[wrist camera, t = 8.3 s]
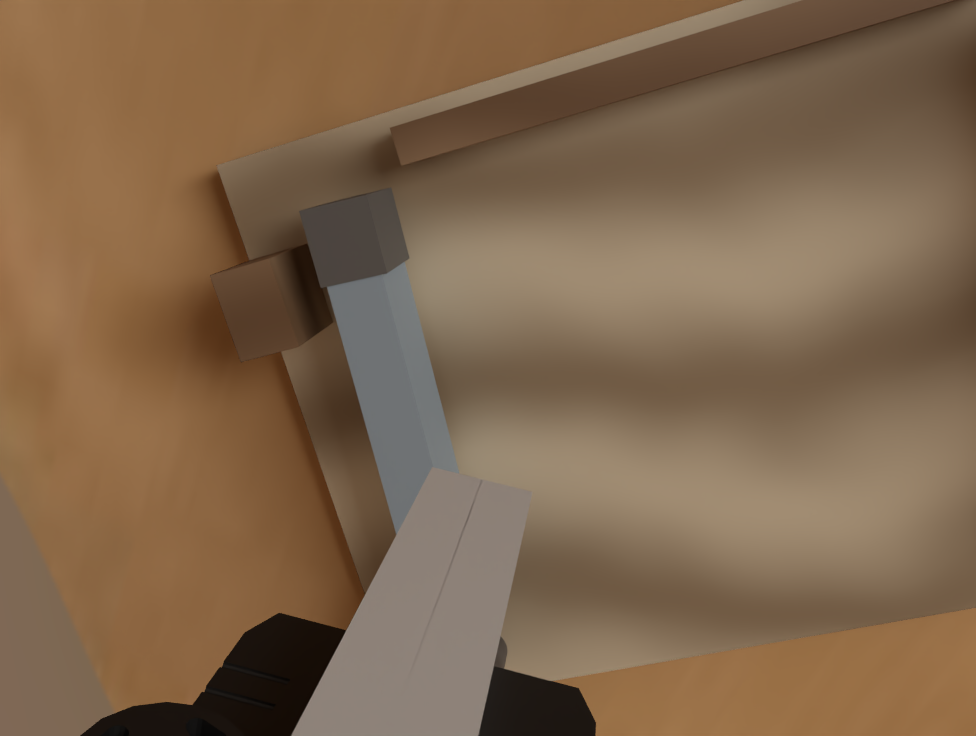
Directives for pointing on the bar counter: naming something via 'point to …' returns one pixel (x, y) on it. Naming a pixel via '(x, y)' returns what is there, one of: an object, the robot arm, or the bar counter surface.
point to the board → (671, 322)
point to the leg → (382, 339)
